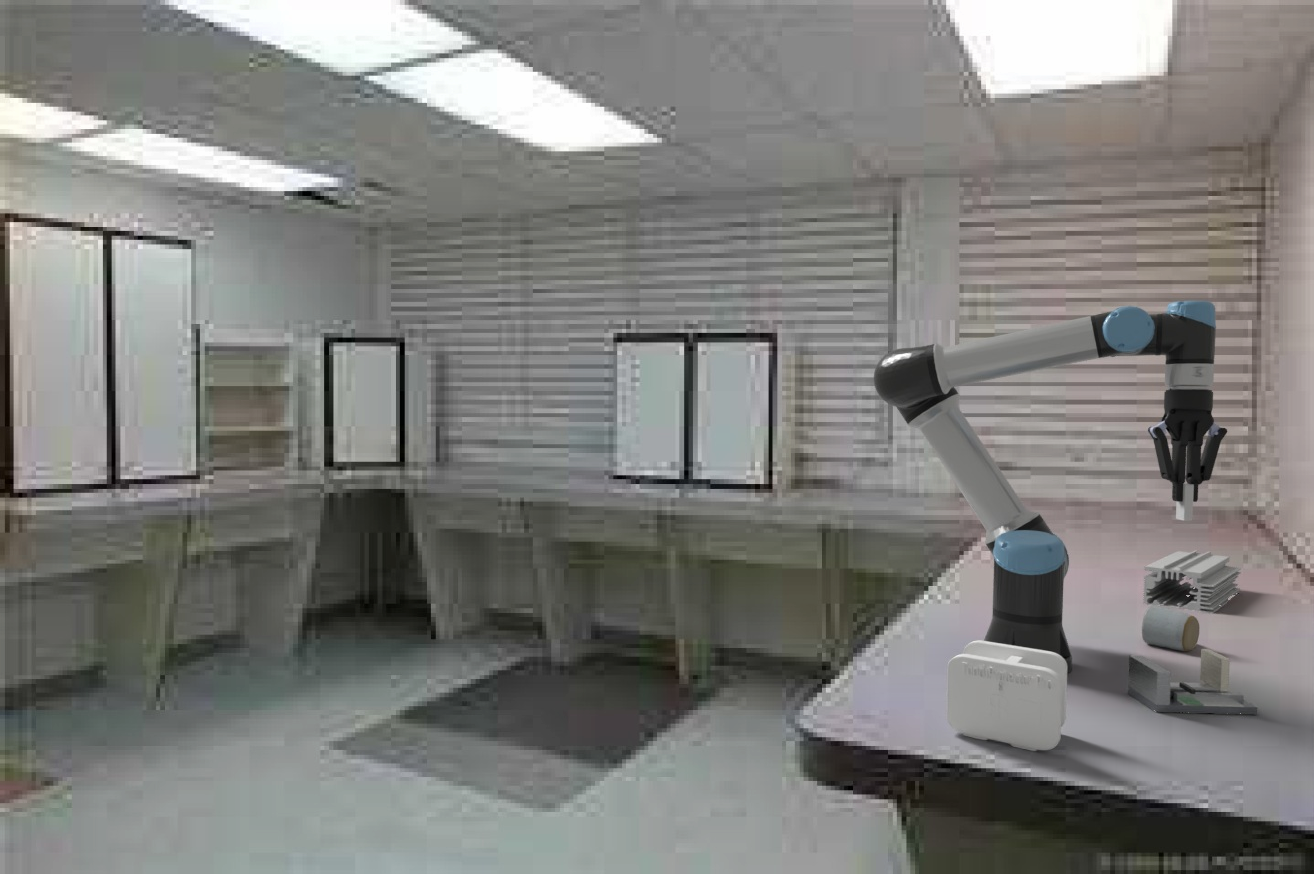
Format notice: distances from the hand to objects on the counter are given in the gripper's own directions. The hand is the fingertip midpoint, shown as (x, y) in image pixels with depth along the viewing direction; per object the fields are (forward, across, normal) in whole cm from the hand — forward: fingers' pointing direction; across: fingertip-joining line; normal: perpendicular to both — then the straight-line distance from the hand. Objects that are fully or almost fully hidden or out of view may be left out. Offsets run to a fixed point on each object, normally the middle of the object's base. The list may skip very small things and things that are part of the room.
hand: (1184, 519), depth 160 cm
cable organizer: (+27, -43, -37) cm, 63 cm away
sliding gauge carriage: (+25, -9, -22) cm, 35 cm away
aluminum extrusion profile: (+27, +34, +58) cm, 73 cm away
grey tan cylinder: (+27, +5, +13) cm, 30 cm away
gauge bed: (+26, -10, -22) cm, 35 cm away
